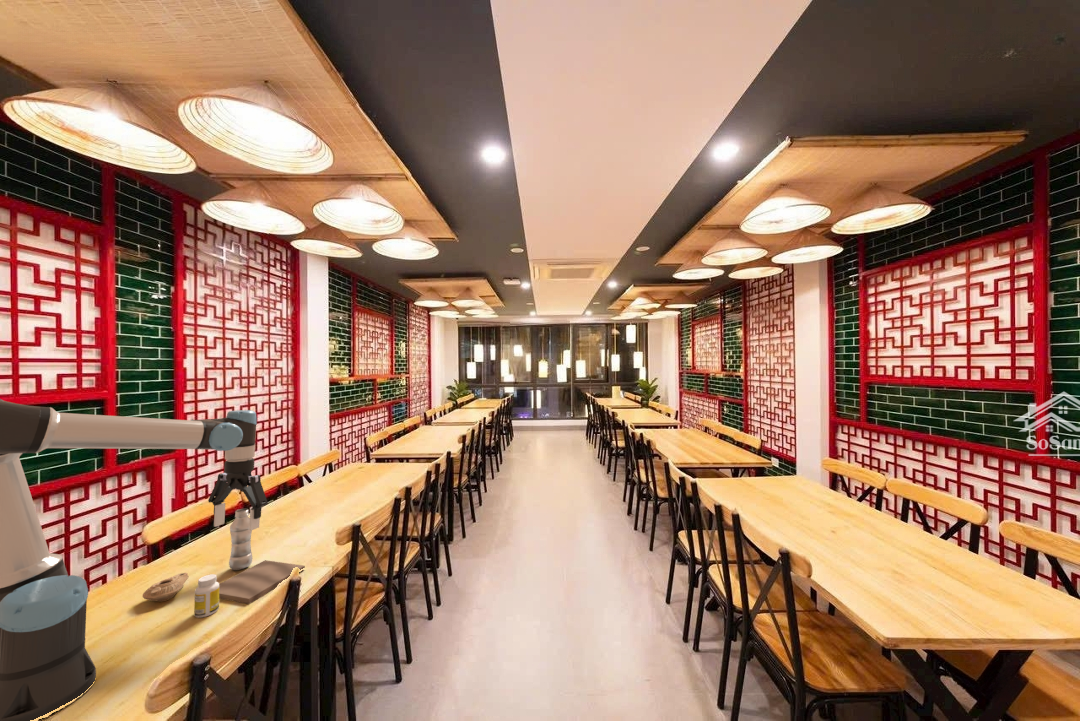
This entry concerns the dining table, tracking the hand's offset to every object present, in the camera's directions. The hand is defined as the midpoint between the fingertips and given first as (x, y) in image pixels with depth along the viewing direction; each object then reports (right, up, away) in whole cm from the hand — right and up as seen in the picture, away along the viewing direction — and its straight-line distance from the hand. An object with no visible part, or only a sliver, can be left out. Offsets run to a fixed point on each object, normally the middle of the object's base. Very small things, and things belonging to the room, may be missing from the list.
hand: (236, 527), depth 121 cm
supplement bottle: (0, -20, -11) cm, 23 cm away
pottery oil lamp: (-18, -20, -3) cm, 27 cm away
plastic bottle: (-9, -21, +13) cm, 26 cm away
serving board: (+4, -20, +4) cm, 21 cm away
